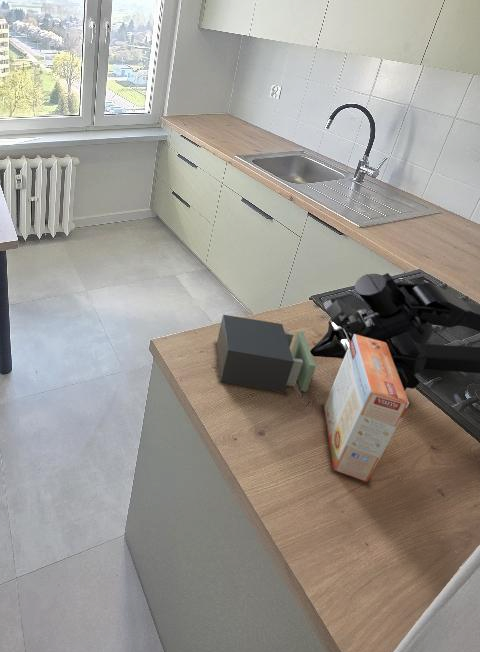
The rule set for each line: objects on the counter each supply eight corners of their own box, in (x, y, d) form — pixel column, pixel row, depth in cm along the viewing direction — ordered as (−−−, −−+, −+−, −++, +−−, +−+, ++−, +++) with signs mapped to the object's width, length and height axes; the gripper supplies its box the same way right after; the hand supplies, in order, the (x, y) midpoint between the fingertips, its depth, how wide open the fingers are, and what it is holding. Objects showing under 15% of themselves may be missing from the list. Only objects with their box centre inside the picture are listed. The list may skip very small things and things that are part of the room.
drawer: (300, 357, 99) (308, 332, 96) (312, 392, 90) (322, 367, 87) (241, 347, 101) (247, 322, 98) (247, 381, 92) (254, 355, 89)
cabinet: (273, 353, 101) (282, 323, 97) (283, 392, 91) (294, 361, 87) (216, 343, 102) (223, 314, 99) (220, 381, 93) (228, 350, 89)
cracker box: (369, 484, 74) (411, 404, 66) (332, 471, 76) (368, 391, 67) (354, 416, 86) (388, 341, 78) (322, 406, 88) (352, 331, 79)
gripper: (344, 270, 93) (281, 301, 99) (381, 331, 76) (302, 364, 82) (371, 303, 95) (307, 331, 101) (413, 370, 78) (333, 399, 84)
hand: (311, 353), depth 92 cm, fingers closed
